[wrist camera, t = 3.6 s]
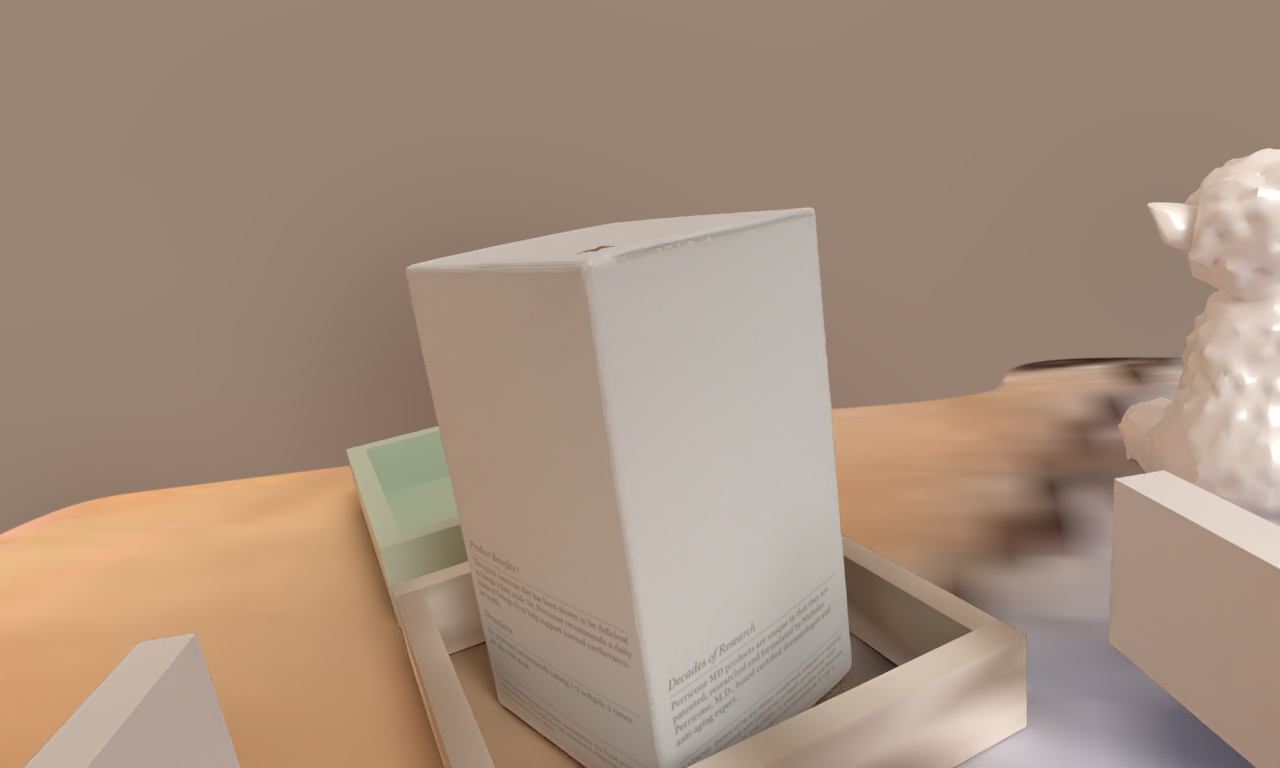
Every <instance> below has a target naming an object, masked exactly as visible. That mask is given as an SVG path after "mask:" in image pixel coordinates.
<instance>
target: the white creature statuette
mask: <svg viewBox="0 0 1280 768" xmlns="http://www.w3.org/2000/svg"><path fill="white" fill-rule="evenodd" d="M1148 207H1149V210H1150V212H1151V214H1152V216H1153V218H1154V220H1155V223H1156V225H1157V228H1158V230H1159V233H1160V236H1161V239H1162V241H1164V242H1165V243H1166V244H1168V245H1169V246H1171V247H1174V248H1176V249H1180V250H1183V251H1185V256H1186V260H1187V264H1189V265H1190V267H1191V276H1192V277H1194V278H1196V279H1199V280H1203V281H1205V282H1207V283H1209V284H1211V285H1212V286H1213V287H1215V288H1217V289H1219V290H1220V291H1218V292H1215V293H1213V294H1212V295H1211V296H1210V297H1209V298H1208V300H1207V306H1206V307H1205V311H1204V312H1203V313H1201V314H1200V315H1198V316H1196V319H1195V326H1194V328H1193V330H1192V333H1191V334H1190V335H1189V336H1188V337H1186V338H1185V340H1186V348H1185V350H1184V351H1183V353H1182V354H1181V357H1182V360H1183V363H1184V367H1183V373H1182V375H1181V378H1180V381H1179V389H1178V390H1176V391H1175V392H1174V393H1173V401H1171V400H1169V399H1167V398H1166V397H1164V396H1161V397H1158V398H1155V399H1152V400H1150V401H1148V402H1144V401H1142V402H1140V403H1139V404H1135V405H1133V406H1131V407H1130V408H1129V409H1128V410H1127V411H1126V413H1125V414H1124V416H1123V419H1122V422H1121V423H1120V424H1118V429H1119V433H1120V434H1121V435H1122V438H1123V441H1124V444H1125V446H1126V456H1127V459H1128V460H1136V461H1137V462H1138V463H1139V464H1140V466H1141V467H1142V468H1143V470H1144V471H1145V473H1151V472H1157V471H1163V470H1165V471H1167V472H1169V473H1171V474H1173V475H1175V476H1177V477H1179V478H1181V479H1183V480H1185V481H1187V482H1189V483H1191V484H1193V485H1195V486H1197V487H1200V488H1202V489H1204V490H1206V491H1208V492H1210V493H1212V494H1214V495H1216V496H1218V497H1220V498H1222V499H1224V500H1226V501H1228V502H1230V503H1232V504H1235V505H1237V506H1239V507H1241V508H1243V509H1245V510H1247V511H1249V512H1251V513H1253V514H1255V515H1257V516H1259V517H1261V518H1263V519H1265V520H1267V521H1270V522H1272V523H1274V524H1276V525H1278V526H1280V149H1278V150H1274V149H1270V148H1267V149H1263V150H1260V151H1257V152H1255V153H1253V154H1252V155H1250V156H1247V157H1244V158H1239V159H1232V160H1230V161H1228V162H1226V163H1225V165H1224V166H1223V167H1221V168H1216V169H1214V170H1212V171H1211V172H1210V173H1209V174H1208V175H1207V176H1206V177H1205V178H1204V179H1203V180H1202V183H1201V187H1200V188H1199V189H1198V190H1197V191H1196V192H1194V193H1193V194H1191V195H1190V196H1189V197H1188V199H1187V201H1186V202H1185V204H1180V203H1162V202H1160V203H1149V204H1148Z"/></svg>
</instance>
